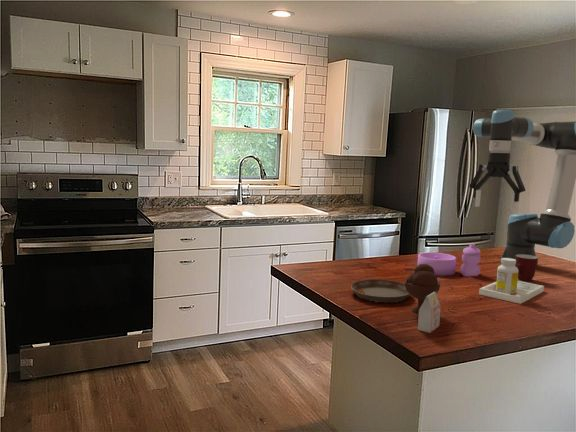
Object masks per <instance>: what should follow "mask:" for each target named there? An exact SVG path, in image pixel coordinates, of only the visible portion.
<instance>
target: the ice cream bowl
mask: <svg viewBox="0 0 576 432" xmlns="http://www.w3.org/2000/svg"><path fill="white" fill-rule="evenodd" d="M413 270H414V272H412V273H410V274H409V275H408V277H407V278H405V279H404V284H405V288H406V290H407V292H408V293H409V294H410V295H409V296H411V297H412V298H415V299H417V306H415V307H412V308H411V310H412V312H411V313H413V314H415V313H416V314H415V315H419V309H420V307H421V306H422V304H423V302H424V300H425V298H426V296H428V295H430V294H431V293H433V292H436V294H437V295H438V293H439V291H440V288H441V283H440V282H439V281H438V278H437V275H434V269H433V268H432V267H431V266H430V265H428V264H420V265H418V266H417V265H416V266H415V268H414V269H413Z"/></svg>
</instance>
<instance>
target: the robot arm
mask: <svg viewBox="0 0 576 432" xmlns="http://www.w3.org/2000/svg"><path fill="white" fill-rule="evenodd" d="M491 115H492V116H491V118H488V117H487V118H485V117H483V118H478V119H476V120H475V121H474V123H473V127H472V129H473V130H472V131H473V134H474V136H475V137H478V138H489V148H488V151H489V153H488V155H487V156H488V157H487V164H479V165H478V170H477V171H476V173H475V175H474V177H473V179H472V180H471V182H470V184H469V188H471V189H473V198H474V200H475V201H474V207H475V208H478V207H480V206H481V195H482V189H481V187H482V186H484V185H485V183H486V182H488V181H489V179H490V178H503V179H504V180H505V181H506V183H507V184H508V185H509V187H510V188H511V190H512V191H513V192H512V194H511V201H510V211H511V212H514V211H516V207H517V206H516V205H517V203H518V202H519V201H520V193H523V192H526V187H525V185H524V182H523V179H522V177H521V175H520V173H519V166H518V165H513V166H510V161H511V153H510V152H511V151H512V141H516V142H517V141H518V142H524V143H526V144H528V145H531V146H536V147H540V148H545V149H551V150H554V153H555V154H556V155H557V157H556V161H555V167H554V171H553V175H552V180H551V183H550V188H549V193H548V197H547V202H546V207H545V209H544V211H542V212H541V213H540V216H538V213H514V214H510V215H509V217H508V222H507V232H506V244H505V248H504V250H503V251H502V253H501V258H500V260H501V259H502V258H511V259H515V255H518V254H524V255H532V256H536V257H537V254H536V250H535V246H536V245H538V246H543V247H548V248H552V249H564V248H566V247H568V245H570V243H571V242H572V241H573V239H574V236H575V231H576V230H575V225H574V223H572V222H571V221H572V218H571V216H570V214H569V211H570V207H571V202H572V198H573V193H574V189H575V184H576V121H574V120H573V121H551V122H533V120H531V119H530V118H527V117H524V116H523V117H520V116H515V112H514V111H513V110H511V109H497V110H494V111H492V114H491ZM486 170H487V172H486V173H485V175H484V176H483V173H484V172H485V171H486ZM508 172H511V173H512V176H513V177H514V180H513V179H512V178H511V175H510V174H509V173H508ZM482 176H483V177H482ZM481 177H482V178H481ZM480 178H481V179H480ZM479 180H480V181H479Z"/></svg>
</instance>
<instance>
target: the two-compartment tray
mask: <svg viewBox="0 0 576 432" xmlns="http://www.w3.org/2000/svg"><path fill="white" fill-rule="evenodd" d="M496 282H497V280H496V281H494V282H492V283H489V284H487V285H484V286H483V287H480V288H478V289H479V290H478V291H479V292H478V295H480V296H484V297H489V298H493V299H498V300H503V301H506V302H511V303H515V304H519V305H520V304H523V303H525V302H527V301H529V300H530V299H533V298H534V297H536V296H538V295H540V294H542V293H543V292H544V288H545V285H542V284H541V285H540V284H535V283H532V282H528V281H522V280H518V282H517V283H518V284H524V285H527V286H529V287H530V291H529V290H525V289H520V288H517V294H516V296H514V295H510V294H505V293H501V292H496Z"/></svg>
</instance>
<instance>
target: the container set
mask: <svg viewBox="0 0 576 432" xmlns="http://www.w3.org/2000/svg"><path fill="white" fill-rule="evenodd" d="M462 253H463V254H462V255H461V260H462V262H463V263H462V264H461V266H460V273H461V275H462V276H463V277H466V278H472V277H478V276H479V275H480V273H481V267H480V265H479V263H480V262H481V260H482V258H481V250H480V249H479V248H478V247H476V244H475V243H469V246H467V247H465V248H463V250H462ZM456 263H457V256H455V255H453V254H448V253H443V252H426V251H425V252H419V253H418V254H417V263H416V264H417V265H416V267H417V266H418V265H420V264H428V265H430V266H431V267H432V268H433V269H434V275H435V276H453V275H456V265H457V264H456Z"/></svg>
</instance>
